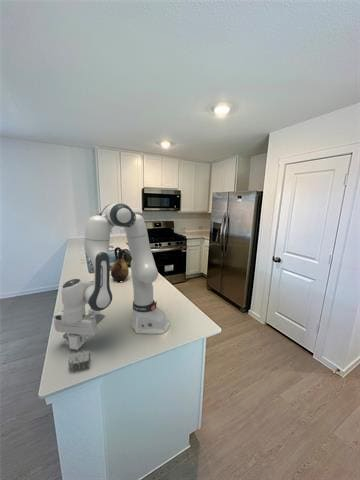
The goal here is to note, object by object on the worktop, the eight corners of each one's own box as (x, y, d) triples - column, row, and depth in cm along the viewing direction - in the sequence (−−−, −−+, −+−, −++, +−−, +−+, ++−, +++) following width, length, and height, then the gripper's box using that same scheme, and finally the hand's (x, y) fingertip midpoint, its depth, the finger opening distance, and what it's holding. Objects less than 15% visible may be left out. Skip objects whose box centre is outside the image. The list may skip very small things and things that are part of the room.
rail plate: (105, 316, 122) (104, 306, 120) (79, 341, 99) (78, 329, 98) (90, 314, 123) (89, 304, 122) (62, 338, 101) (61, 326, 100)
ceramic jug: (132, 279, 181) (132, 247, 176) (119, 285, 168) (118, 250, 163) (119, 275, 190) (118, 245, 184) (106, 280, 176) (104, 247, 171)
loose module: (85, 340, 97) (84, 329, 96) (77, 349, 91) (76, 337, 90) (78, 339, 98) (77, 328, 96) (69, 348, 92) (68, 336, 91)
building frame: (89, 369, 83) (89, 357, 82) (68, 374, 80) (67, 362, 79) (90, 358, 89) (90, 347, 88) (70, 363, 86) (69, 351, 85)
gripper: (99, 312, 93) (101, 338, 95) (60, 308, 96) (63, 333, 99) (91, 320, 87) (93, 348, 89) (50, 315, 90) (53, 342, 93)
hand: (77, 340), depth 94 cm, fingers closed on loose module, 4 cm apart
